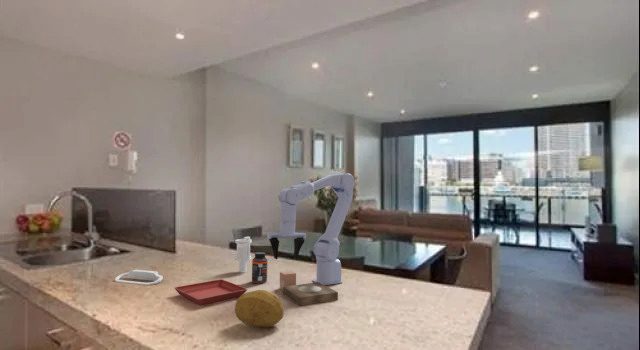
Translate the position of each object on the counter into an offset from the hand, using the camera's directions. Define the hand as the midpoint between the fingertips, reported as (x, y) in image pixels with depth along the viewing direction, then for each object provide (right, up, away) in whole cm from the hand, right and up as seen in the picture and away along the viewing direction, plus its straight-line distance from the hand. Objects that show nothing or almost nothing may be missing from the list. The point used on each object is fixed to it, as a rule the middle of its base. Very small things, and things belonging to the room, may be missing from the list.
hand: (285, 258), depth 134 cm
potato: (-4, -10, -35) cm, 37 cm away
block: (+1, -11, 0) cm, 11 cm away
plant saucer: (-25, -11, -10) cm, 29 cm away
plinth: (+9, -11, -9) cm, 17 cm away
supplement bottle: (-11, -12, +10) cm, 19 cm away
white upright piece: (-21, -12, +26) cm, 35 cm away
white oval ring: (-58, -11, +9) cm, 60 cm away
